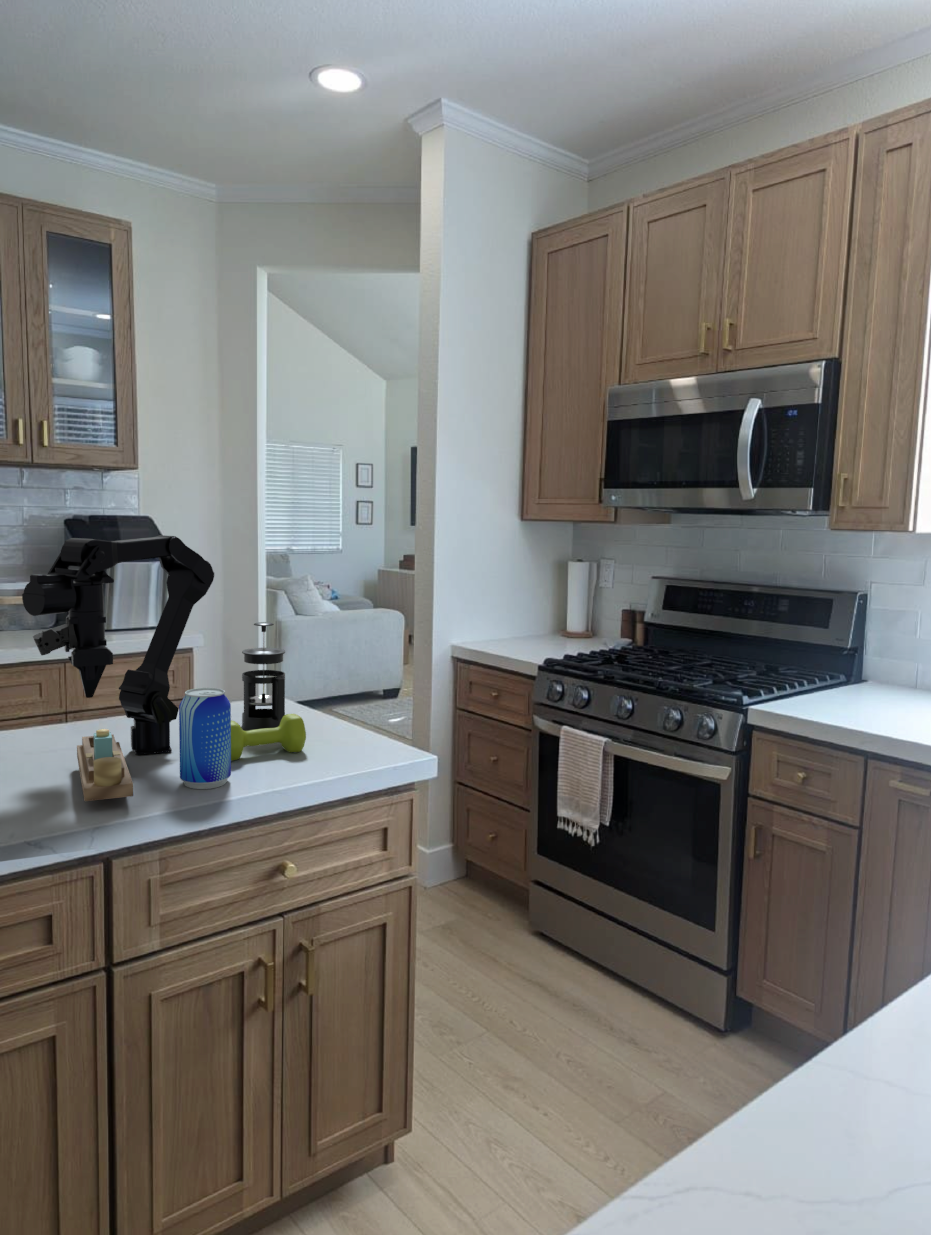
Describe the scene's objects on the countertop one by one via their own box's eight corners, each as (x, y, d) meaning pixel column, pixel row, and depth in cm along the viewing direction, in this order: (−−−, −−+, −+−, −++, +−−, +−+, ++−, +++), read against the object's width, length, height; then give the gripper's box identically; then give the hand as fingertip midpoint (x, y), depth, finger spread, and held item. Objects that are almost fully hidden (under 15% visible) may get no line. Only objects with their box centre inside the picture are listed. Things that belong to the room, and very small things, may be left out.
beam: (119, 763, 159) (118, 723, 159) (133, 808, 136) (132, 761, 135) (77, 767, 156) (76, 726, 155) (84, 813, 133) (83, 766, 132)
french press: (230, 727, 188) (230, 621, 185) (267, 720, 195) (267, 618, 192) (262, 737, 180) (262, 627, 177) (299, 730, 187) (300, 624, 184)
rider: (110, 760, 147) (110, 727, 147) (112, 767, 144) (112, 732, 143) (94, 762, 146) (93, 728, 145) (95, 768, 143) (94, 734, 142)
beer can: (203, 793, 144) (202, 699, 142) (169, 784, 149) (168, 692, 147) (241, 781, 151) (241, 691, 149) (207, 772, 156) (207, 684, 154)
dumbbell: (225, 765, 161) (225, 727, 160) (213, 754, 167) (213, 718, 166) (309, 754, 169) (309, 718, 168) (294, 744, 176) (295, 710, 175)
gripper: (32, 605, 157) (35, 690, 159) (38, 618, 141) (42, 713, 143) (99, 603, 162) (101, 685, 164) (112, 616, 146) (114, 707, 148)
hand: (89, 697), depth 155 cm, fingers closed
